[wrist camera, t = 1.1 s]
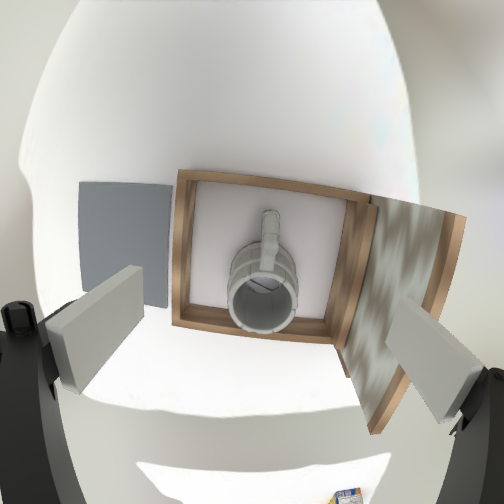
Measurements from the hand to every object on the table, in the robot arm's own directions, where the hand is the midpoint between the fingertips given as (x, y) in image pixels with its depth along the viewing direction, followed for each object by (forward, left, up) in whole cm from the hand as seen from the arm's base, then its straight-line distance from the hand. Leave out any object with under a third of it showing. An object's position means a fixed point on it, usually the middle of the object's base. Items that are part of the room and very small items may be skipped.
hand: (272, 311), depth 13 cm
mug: (+3, 0, -21) cm, 21 cm away
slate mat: (+4, -19, -20) cm, 28 cm away
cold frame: (+3, 0, -20) cm, 21 cm away
